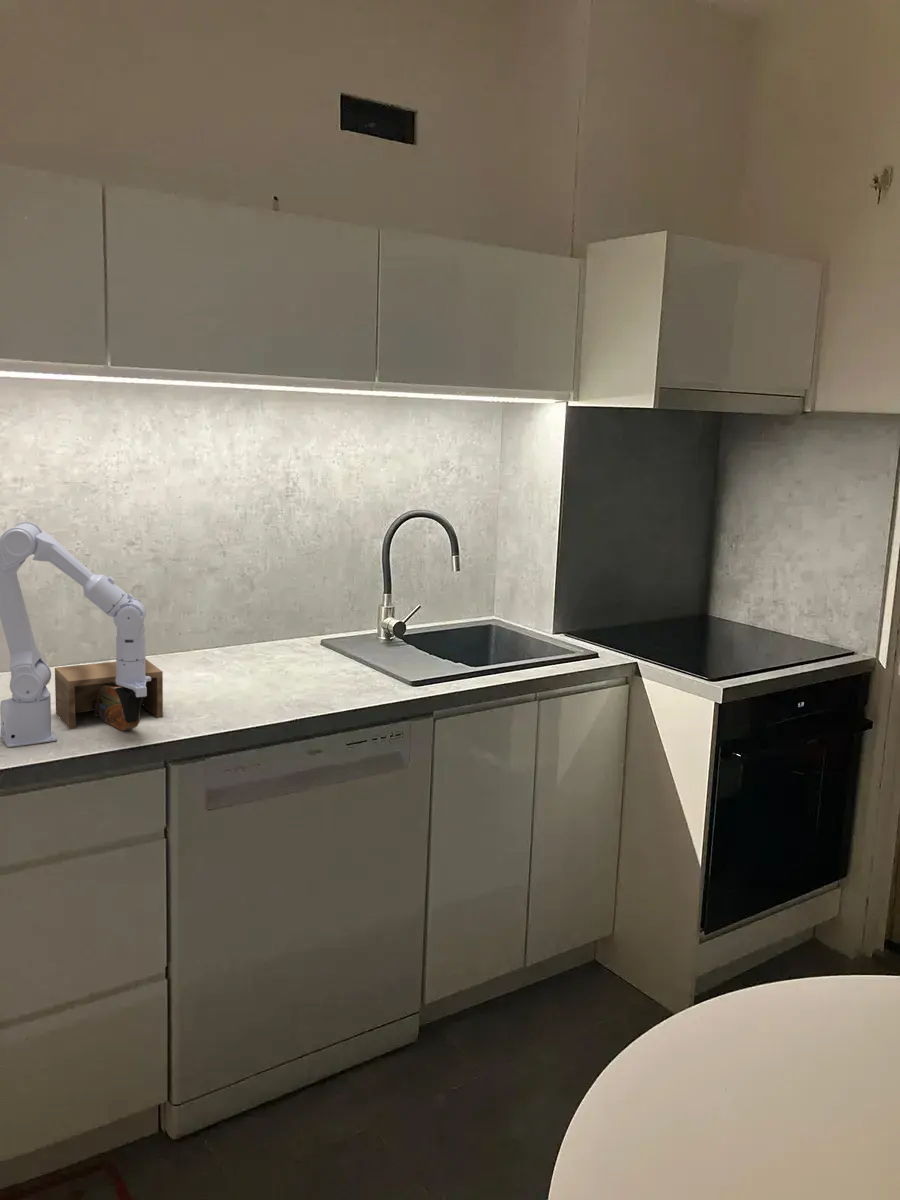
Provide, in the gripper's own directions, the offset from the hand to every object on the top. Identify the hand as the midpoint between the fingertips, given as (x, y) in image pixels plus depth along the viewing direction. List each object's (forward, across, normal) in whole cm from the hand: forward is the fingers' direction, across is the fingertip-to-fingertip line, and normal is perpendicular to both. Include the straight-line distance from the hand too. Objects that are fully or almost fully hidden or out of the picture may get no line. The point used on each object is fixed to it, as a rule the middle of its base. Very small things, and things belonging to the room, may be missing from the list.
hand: (131, 721), depth 210 cm
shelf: (+3, +16, 0) cm, 17 cm away
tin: (+4, +9, 0) cm, 9 cm away
